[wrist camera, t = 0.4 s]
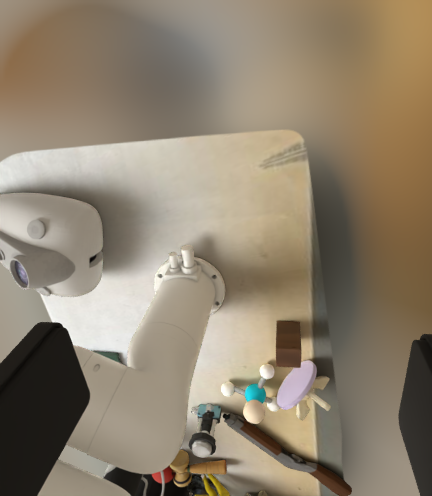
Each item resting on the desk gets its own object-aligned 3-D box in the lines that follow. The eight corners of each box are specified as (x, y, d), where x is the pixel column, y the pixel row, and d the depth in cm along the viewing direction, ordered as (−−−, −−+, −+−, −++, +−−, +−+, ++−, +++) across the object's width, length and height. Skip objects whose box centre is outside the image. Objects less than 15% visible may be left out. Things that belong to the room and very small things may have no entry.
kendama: (223, 443, 86) (149, 448, 88) (223, 472, 81) (145, 478, 83) (227, 457, 91) (157, 462, 93) (228, 486, 86) (153, 491, 88)
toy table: (307, 435, 63) (285, 417, 61) (287, 405, 72) (267, 389, 70) (345, 393, 63) (324, 374, 62) (320, 368, 72) (301, 351, 70)
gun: (351, 483, 83) (328, 490, 86) (240, 401, 76) (220, 413, 80) (352, 494, 81) (329, 501, 84) (238, 411, 74) (217, 422, 78)
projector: (43, 136, 56) (-28, 160, 43) (144, 246, 62) (108, 295, 49) (-28, 214, 65) (-104, 253, 52) (66, 303, 71) (19, 357, 58)
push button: (193, 414, 81) (182, 458, 72) (191, 397, 78) (179, 440, 70) (223, 417, 80) (215, 461, 71) (221, 400, 77) (213, 444, 69)
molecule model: (255, 351, 69) (251, 388, 61) (304, 382, 71) (306, 423, 63) (219, 383, 75) (212, 421, 67) (266, 411, 76) (263, 451, 69)
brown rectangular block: (276, 320, 65) (275, 348, 59) (299, 321, 64) (301, 349, 58) (277, 337, 67) (276, 366, 61) (299, 338, 66) (300, 368, 60)
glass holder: (133, 411, 84) (105, 477, 71) (184, 440, 86) (167, 510, 73) (117, 428, 88) (88, 494, 75) (167, 456, 90) (147, 524, 77)
